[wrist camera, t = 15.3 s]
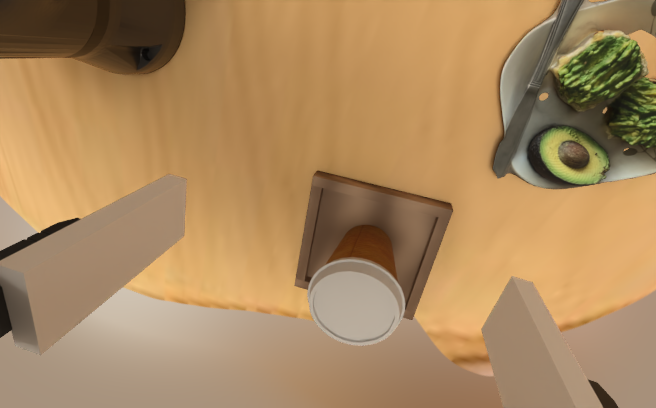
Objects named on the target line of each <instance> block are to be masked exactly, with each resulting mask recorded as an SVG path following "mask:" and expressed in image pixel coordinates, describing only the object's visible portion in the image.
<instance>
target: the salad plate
mask: <svg viewBox="0 0 656 408" xmlns="http://www.w3.org/2000/svg"><path fill="white" fill-rule="evenodd" d="M638 30H644V31H646V32H648V33H650V34H652V35H653V36H654V37H656V0H607V1H603V2H589V1H588V0H561V1H560V4H559V6H558V8H557V9H556V11H555V12H554V14H553V15H552V16H551V17H549V18H548V19H546V20H545V21H543V22H542V23H541V24H539V25H538V26H536V27H535V28H533V29H532V30H531V31H529V32H528V33H527V34H526V35H525V36H524V38H523V39H522V40H521V41H520V42H519V44H518V45H517V46H516V47H515V49H514V50H513V52H512V53H511V54H510V56H509V58H508V59H507V60H506V62H505V63H504V67H503V70H502V74H501V81H500V102H501V107H502V116H503V123H504V138H503V140H502V141H501V142H500V144H499V147H498V150H497V153H496V156H495V160H494V165H493V170H494V172H495V173H496V176H497V178H501V177H504V176H505V175H506V174H507V173H512V174H514V175H516V176H518V177H519V178H521V179H523V180H524V181H526V182H527V183H529V184H532V185H534V186H538V187H542V188H546V189H567V188H575V187H582V186H588V185H595V184H600V183H604V182H612V181H618V180H623V179H631V178H636V177H641V176H645V175H651V174H654V173H656V80H655V79H649V78H645V77H644V76H646V75H647V74H648V73H649V71H648V69H647V62H646V59H645V57H644V54H643V53H642V52H641V49H640V47H639V46H638V44H637V42H636V41H634V40H631V39H630V37H629V36H627V35H628V34H630V33H633V32H635V31H638ZM643 77H644V78H643ZM545 92H546V93H548V94H549V96H548V98H547V99H546V100H544V101H541V100H539V96H540V95H541V94H542V93H545ZM605 107H607V108H608V110H607V112H606V113H605V114H603V113H602V112H603V110H604V109H605ZM626 148H629V149H628V150H626V151H624V149H626ZM623 151H624V152H623Z"/></svg>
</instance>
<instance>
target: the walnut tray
mask: <svg viewBox="0 0 656 408" xmlns="http://www.w3.org/2000/svg"><path fill="white" fill-rule="evenodd" d="M452 212H453V209H452V205H451V203H446V202H442V201H438V200H434V199H430V198H426V197H422V196H418V195H414V194H410V193H406V192H402V191H398V190H394V189H390V188H385V187H381V186H377V185H373V184H369V183H365V182H361V181H357V180H353V179H349V178H345V177H341V176H337V175H333V174H329V173H325V172H320V171H317V172H316V173H315V175H314V176H313V181H312V187H311V193H310V199H309V205H308V210H307V216H306V222H305V228H304V234H303V239H302V245H301V251H300V257H299V263H298V268H297V274H296V280H295V286H297V287H300V288H303V289H307V290H308V287H309V284H310V281H311V279H312V277H313V276H314V274H315V273H316V272H317V271H318V270H319V269H320V268H321V267H323V266H324V265H325V264H326V263H327V261H328V260H329V258H330V257H331V255H332V254H333V252H334V251H335V249H336V248H337V246H338V245H339V243H340V242H341V240H342V239H343V237H344V236H345V234H346V233H347V232H348V231H349V230H350V229H351V228H353V227H355V226H359V225H372V226H375V227H377V228H380V229H381V230H383V231H384V232H385V233H386V234H387V235H388V237H389V238H390V240H391V243H392V249H393V255H394V261H395V267H396V273H397V279H398V283H399V285H400V287H401V288H402V291H403V294H404V298H405V312H404V315H403V317H404V318H407V319H410V320H412V319H413V317H414V314H415V311H416V309H417V306H418V303H419V301H420V298H421V295H422V293H423V290H424V287H425V285H426V282H427V279H428V276H429V274H430V271H431V268H432V266H433V263H434V260H435V258H436V255H437V252H438V250H439V247H440V244H441V242H442V239H443V236H444V234H445V231H446V228H447V225H448V223H449V220H450V217H451V215H452Z"/></svg>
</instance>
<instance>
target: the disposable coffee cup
mask: <svg viewBox="0 0 656 408" xmlns="http://www.w3.org/2000/svg"><path fill="white" fill-rule="evenodd" d="M308 302H309V307H310V312H311V315H312V317H313V319H314V321H315V323H316V324H317V325H318V326H319V328H320V329H321V330H322V331H323V332H325V333H326V334H327V335H329V336H330V337H332V338H333V339H336V340H338V341H340V342H343V343H347V344H350V345H360V346H364V345H370V344H375V343H378V342H380V341H382V340H384V339H386V338H387V337H388V336H390V334H392V333H393V331H394V330H395V328H396V327H397V326H398V325H399V323H400V322H401V319H402V318H403V315H404V312H405V298H404V294H403V291H402V288H401V287H400V285H399V283H398V279H397V273H396V267H395V261H394V255H393V249H392V243H391V240H390V238H389V237H388V235H387V234H386V233H385V232H384V231H383V230H381V229H380V228H377V227H375V226H372V225H359V226H355V227H353V228H351V229H350V230H349V231H348V232H347V233H346V234H345V236H344V237H343V239H342V240H341V242H340V243H339V245H338V246H337V248H336V249H335V251H334V252H333V254H332V255H331V257H330V258H329V260H328V261H327V263H326V264H325V265H324V266H323V267H321V268H320V269H319V270H318V271H317V272H316V273H315V274H314V276H313V277H312V279H311V281H310V284H309V287H308Z"/></svg>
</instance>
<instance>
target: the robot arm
mask: <svg viewBox="0 0 656 408" xmlns="http://www.w3.org/2000/svg"><path fill="white" fill-rule="evenodd" d="M184 22H185V5H184V0H0V58H74V59H77V60H79V61H82V62H85V63H87V64H90V65H93V66H95V67H98V68H101V69H103V70H106V71H109V72H113V73H117V74H145V73H149V72H152V71H155V70H157V69H159V68H160V67H162V66H163V65H165V64H166V63H167V62H168V61H169V60H170V59H171V57H172V56H173V55H174V53H175V52H176V50H177V48H178V46H179V43H180V41H181V38H182V34H183V30H184ZM186 183H187V179H185V178H182V177H178V176H175V175H171V174H168V175H166V176H164V177H162V178H160V179H158V180H156V181H154V182H153V183H151V184H149V185H147V186H145V187H143V188H141V189H139V190H137V191H135V192H133V193H131V194H129V195H127V196H125V197H123V198H121V199H119V200H117V201H116V202H114V203H112V204H110V205H108V206H106V207H104V208H102V209H100V210H98V211H96V212H94V213H92V214H90V215H88V216H86V217H84V218H82V219H79V218H75V219H71V220H67V221H63V222H59V223H57V224H54V225H52V226H50V227H48V228H46V229H44V230H42V231H41V233H36V234H34V235H32V236H30V237H28V238H27V240H22V241H20V242H18V243H16V244H14V245H12V246H10V247H7V248H5V249H3V250H1V251H0V338H1V337H2V336H4V335H5V334H6V333H8V332H9V331H11V330H12V334H13V338H14V342H15V346H17V347H20V348H23V349H25V350H28V351H31V352H34V353H36V354H39V355H41V354H42V353H44V352H45V351H46V350H47V349H49V348H50V347H51V346H52V345H53V344H54V343H56V342H57V341H58V340H60V339H61V338H62V337H63V336H64V335H65V334H67V333H68V332H69V331H70V330H71V329H73V328H74V327H75V326H76V325H78V324H79V323H80V322H81V321H82V320H84V319H85V318H86V317H87V316H88V315H89V314H91V313H92V312H93V311H94V310H96V309H97V308H98V307H99V306H100V305H102V304H103V303H104V302H105V301H106V300H108V299H109V298H110V297H111V296H112V295H114V294H115V293H116V292H117V291H118V290H119V289H121V288H122V287H123V286H125V285H126V284H127V283H128V282H129V281H131V280H132V279H133V278H134V277H135V276H137V275H138V274H139V273H140V272H141V271H143V270H144V269H145V268H146V267H147V266H149V265H150V264H151V263H152V262H153V261H155V260H156V259H157V258H158V257H159V256H161V255H162V254H163V253H164V252H165V251H167V250H168V249H169V248H170V247H171V246H173V245H174V244H175V243H176V242H177V241H179V240H180V239H181V238H182V237H183V236H184V228H185V206H186ZM481 330H482V334H483V337H484V341H485V344H486V348H487V351H488V355H489V358H490V362H491V366H492V369H493V373H494V376H495V379H496V383H497V387H498V390H499V394H500V397H501V401H502V405H503V408H618V406H617V404H616V403H615V401H614V400H613V399H612V398H611V397H610V396H609V395H608V394H607V392H606V391H605V390H604V389H603V388H602V387H601V386H600V385H599V384H598V383H596V382H594V381H591V380H588V379H587V378H586V376H585V374H584V372H583V371H582V369H581V367H580V366H579V364H578V362H577V360H576V358H575V357H574V355H573V353H572V351H571V349H570V348H569V346H568V344H567V342H566V341H565V339H564V337H563V335H562V334H561V332H560V330H559V328H558V326H557V325H556V323H555V321H554V319H553V318H552V316H551V314H550V312H549V310H548V309H547V307H546V305H545V303H544V302H543V300H542V298H541V296H540V295H539V293H538V291H537V289H536V287H535V286H534V284H533V282H530V281H527V280H523V279H520V278H517V277H513V276H512V277H511V278H510V280H509V282H508V284H507V285H506V287H505V289H504V291H503V292H502V294H501V296H500V298H499V299H498V301H497V303H496V305H495V306H494V308H493V310H492V312H491V313H490V315H489V317H488V319H487V320H486V322H485V324H484V326H483V327H482V329H481Z"/></svg>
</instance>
